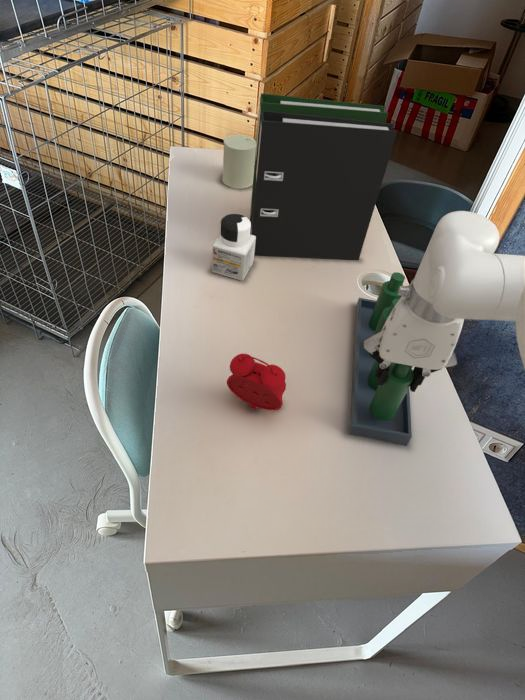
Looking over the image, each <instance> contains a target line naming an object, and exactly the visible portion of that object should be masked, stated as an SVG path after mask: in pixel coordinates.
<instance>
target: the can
mask: <svg viewBox="0 0 525 700" xmlns="http://www.w3.org/2000/svg"><path fill="white" fill-rule="evenodd" d="M256 142H257V140H255V139H254V138H253V137H251V136H249V135H244V134H230V135H227V136H225V138H224V139H223V157H222V158H223V159H222V177H221V181H222V183H223V184H224V185H225V186H227V187H229V188H231V189H235V190H237V189H238V190H242V189H244V190H245V189H248V188H250V187H253V176H254V165H255V153H256Z"/></svg>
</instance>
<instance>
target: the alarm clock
mask: <svg viewBox="0 0 525 700" xmlns="http://www.w3.org/2000/svg"><path fill="white" fill-rule="evenodd" d="M257 361H258V362H257ZM229 371H230V373H231V375H229V376H228V377H227V379H226V386H227V387H228V389H229V391H231V392H232V394H234V396H236V397H237V398H239V399H240V400H242V401H243V402H246V404H249V405H251V406H250V408H251V409H252V410H256V409H257V408H258V409H261V410H266V411H277V410H280V409H281V408H282V406H283V396H284V393H285V391H286V389H287V383H286V377H287V376H286V373H285V371H284V369H282V367H280V366H278V365H277V364H269V363H268V362H266V361H264V360H261V359H260V358H257V357H254V356H252V355H250V354H248V353H239V354H236V355H235V356H234V357H233V358H232V359H231V360H230V364H229Z"/></svg>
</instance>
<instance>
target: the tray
mask: <svg viewBox="0 0 525 700" xmlns="http://www.w3.org/2000/svg"><path fill="white" fill-rule="evenodd" d="M376 302H377V300H373V299H369V298H364V297H358V298H357V302H356V305H355V317H354V333H353V334H354V337H353V355H352V357H353V359H352V375H351V376H352V377H351V397H350V414H349V435H351V436H356V437H361V438H367V439H370V440H371V439H372V440H377V441H382V442H387V443H393V444H397V445H401V446H402V445H403V446H408V445H409V442H410V441H411V439H412V438H413V430H412V414H411V397H410V396H411V395H410V388H409V389H408V391H407V393H406V395H405V396H404V398H403V400H402V402H401V404H400V406H399V408H398V410H397V412H396V414H395V416H394V417H393V418H392V419H390V420H387V421H384V420H380V419H377V418H376V417H374V416H373V415H372V413H371V411H370V404H371V401H372V399H373V397H374V395H375V392H376V390H374V389H372V388H371V387H370V385H369V384H368V377H369V374H370V372H371V369H372V367H373V364H374V362H375V359H374V358H372V357H371V356H370V354H369V352H368V351H367V350H366V349H365V348H364V341H365V340H366V339H368V338H370V337H372V336H373V335H374V333H375V331H373V330H372V329H371V328H370V326H369V321H370V318H371V315H372V313H373V310H374V307H375V304H376Z"/></svg>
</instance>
